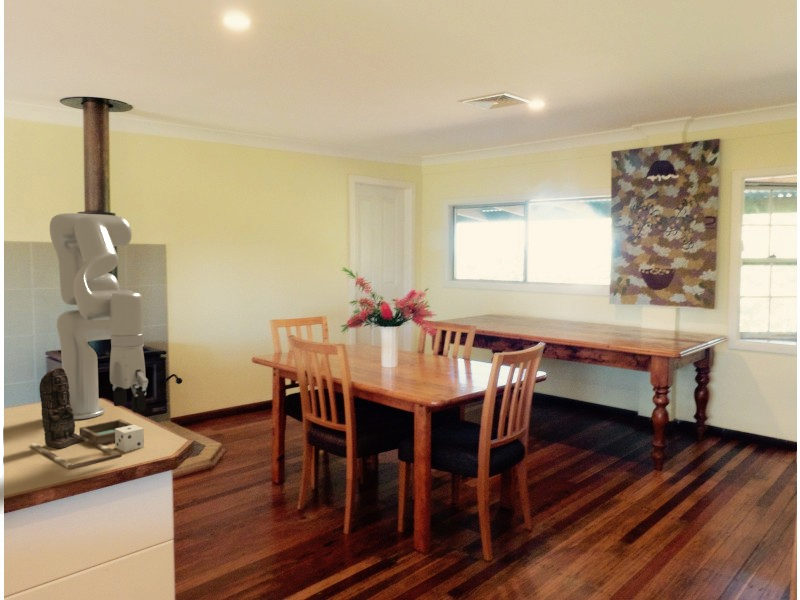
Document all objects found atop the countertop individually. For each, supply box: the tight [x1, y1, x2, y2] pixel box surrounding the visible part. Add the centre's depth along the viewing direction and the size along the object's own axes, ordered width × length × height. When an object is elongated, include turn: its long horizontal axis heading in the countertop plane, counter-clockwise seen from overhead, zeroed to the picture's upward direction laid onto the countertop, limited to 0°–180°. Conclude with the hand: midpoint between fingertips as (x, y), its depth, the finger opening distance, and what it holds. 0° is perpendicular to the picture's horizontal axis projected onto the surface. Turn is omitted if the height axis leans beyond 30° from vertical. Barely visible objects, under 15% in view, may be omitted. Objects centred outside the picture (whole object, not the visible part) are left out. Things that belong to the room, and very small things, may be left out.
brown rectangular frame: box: [29, 432, 123, 470], centre depth 155 cm, size 24×12×1 cm, turn 50°
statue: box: [39, 367, 83, 449], centre depth 160 cm, size 7×7×20 cm
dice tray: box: [79, 419, 134, 446], centre depth 167 cm, size 11×11×2 cm
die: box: [114, 424, 145, 453], centre depth 159 cm, size 5×5×5 cm
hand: (129, 408), depth 157 cm, fingers open, 9 cm apart
